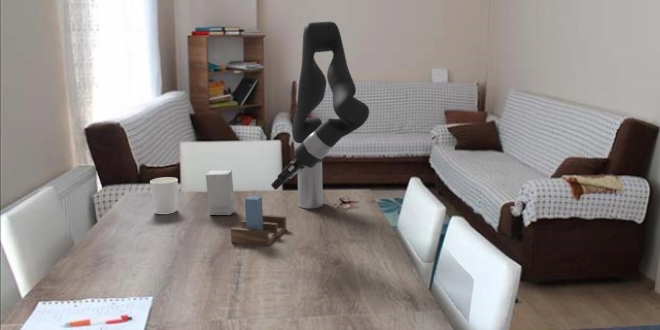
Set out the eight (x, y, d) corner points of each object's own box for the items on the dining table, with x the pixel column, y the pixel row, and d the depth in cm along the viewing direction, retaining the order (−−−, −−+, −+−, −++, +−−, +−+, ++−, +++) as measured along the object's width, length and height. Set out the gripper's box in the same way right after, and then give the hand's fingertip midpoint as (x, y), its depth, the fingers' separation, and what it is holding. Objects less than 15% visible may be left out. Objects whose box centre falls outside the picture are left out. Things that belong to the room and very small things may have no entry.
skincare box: (235, 211, 217) (233, 170, 213) (230, 216, 210) (228, 174, 207) (213, 210, 217) (210, 169, 214) (207, 216, 211) (205, 173, 208)
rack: (252, 226, 199) (252, 213, 198) (286, 229, 196) (285, 216, 195) (231, 242, 184) (230, 228, 183) (267, 246, 180) (266, 232, 179)
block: (251, 231, 188) (250, 195, 186) (263, 232, 187) (261, 196, 185) (246, 235, 184) (244, 199, 182) (258, 236, 183) (256, 199, 181)
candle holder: (150, 210, 219) (148, 178, 217) (177, 206, 223) (175, 176, 221) (154, 217, 211) (152, 184, 208) (182, 213, 215) (180, 181, 212)
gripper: (312, 135, 181) (279, 169, 186) (297, 143, 167) (261, 180, 173) (329, 153, 180) (295, 187, 186) (315, 162, 167) (278, 199, 173)
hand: (278, 183), depth 180 cm, fingers open, 8 cm apart
